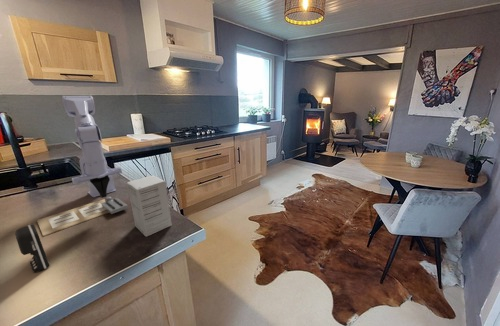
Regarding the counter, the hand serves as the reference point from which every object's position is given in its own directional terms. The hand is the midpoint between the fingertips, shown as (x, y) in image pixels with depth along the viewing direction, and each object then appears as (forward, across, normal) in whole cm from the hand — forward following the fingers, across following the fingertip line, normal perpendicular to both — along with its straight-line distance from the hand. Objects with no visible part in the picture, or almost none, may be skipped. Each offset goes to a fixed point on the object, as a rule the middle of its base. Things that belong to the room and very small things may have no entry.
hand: (103, 196), depth 78 cm
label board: (+8, -6, +10) cm, 14 cm away
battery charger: (+9, -21, -14) cm, 26 cm away
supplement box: (+9, +8, -19) cm, 23 cm away
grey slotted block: (+7, +4, +5) cm, 10 cm away
